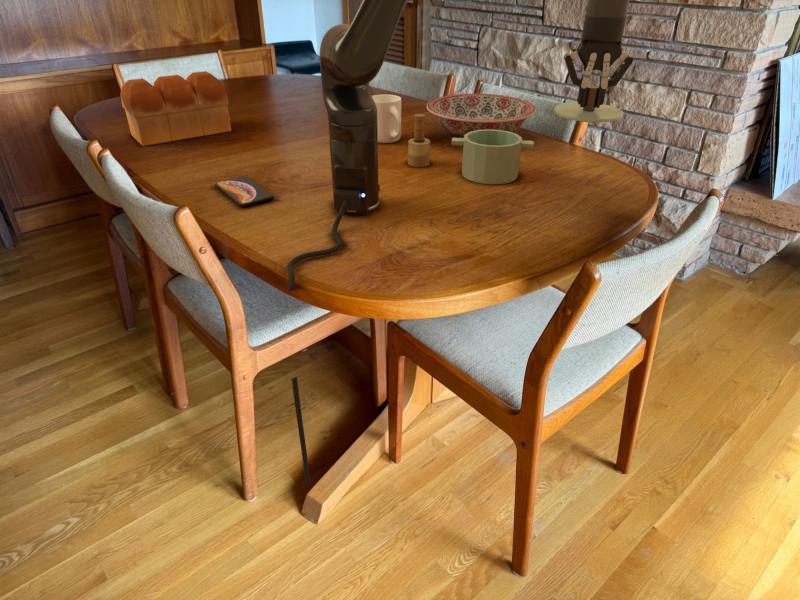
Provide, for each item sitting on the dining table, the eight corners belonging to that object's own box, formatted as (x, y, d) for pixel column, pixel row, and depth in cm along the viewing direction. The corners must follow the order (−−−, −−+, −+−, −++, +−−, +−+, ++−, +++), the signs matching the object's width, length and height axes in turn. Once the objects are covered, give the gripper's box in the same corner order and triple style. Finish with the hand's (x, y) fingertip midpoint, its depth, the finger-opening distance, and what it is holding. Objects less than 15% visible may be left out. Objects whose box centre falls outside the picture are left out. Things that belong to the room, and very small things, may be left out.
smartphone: (241, 204, 114) (213, 182, 124) (241, 208, 114) (214, 186, 124) (275, 195, 117) (245, 174, 128) (275, 199, 118) (246, 178, 128)
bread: (141, 146, 148) (126, 87, 140) (129, 134, 156) (115, 78, 148) (233, 130, 160) (224, 75, 152) (217, 120, 169) (209, 67, 161)
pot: (531, 186, 125) (536, 148, 121) (448, 182, 127) (450, 144, 123) (527, 166, 136) (532, 131, 131) (451, 163, 138) (453, 127, 133)
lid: (628, 126, 112) (635, 96, 108) (557, 123, 113) (561, 93, 110) (615, 108, 123) (621, 80, 120) (550, 106, 125) (554, 78, 121)
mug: (385, 149, 147) (384, 106, 141) (363, 137, 155) (362, 96, 149) (413, 144, 150) (414, 102, 144) (391, 132, 159) (390, 92, 153)
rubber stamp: (428, 167, 135) (430, 118, 129) (406, 166, 136) (407, 117, 129) (430, 160, 139) (431, 112, 133) (409, 159, 140) (409, 111, 134)
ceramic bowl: (410, 126, 164) (410, 98, 160) (499, 117, 173) (501, 90, 168) (453, 157, 141) (454, 125, 137) (553, 145, 150) (558, 114, 145)
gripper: (570, 14, 105) (556, 110, 115) (648, 16, 104) (627, 112, 113) (566, 10, 112) (553, 101, 121) (639, 11, 110) (620, 103, 119)
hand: (589, 106), depth 117 cm, fingers closed on lid, 2 cm apart
